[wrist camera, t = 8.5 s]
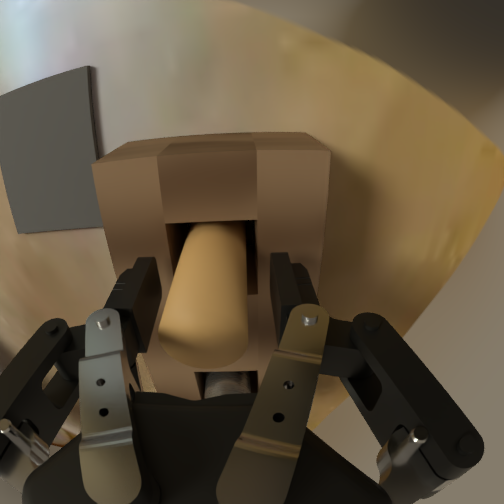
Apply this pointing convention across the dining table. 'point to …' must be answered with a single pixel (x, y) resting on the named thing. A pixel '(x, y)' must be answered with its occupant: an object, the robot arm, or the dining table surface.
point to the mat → (50, 153)
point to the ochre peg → (208, 297)
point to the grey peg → (227, 383)
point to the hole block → (215, 209)
